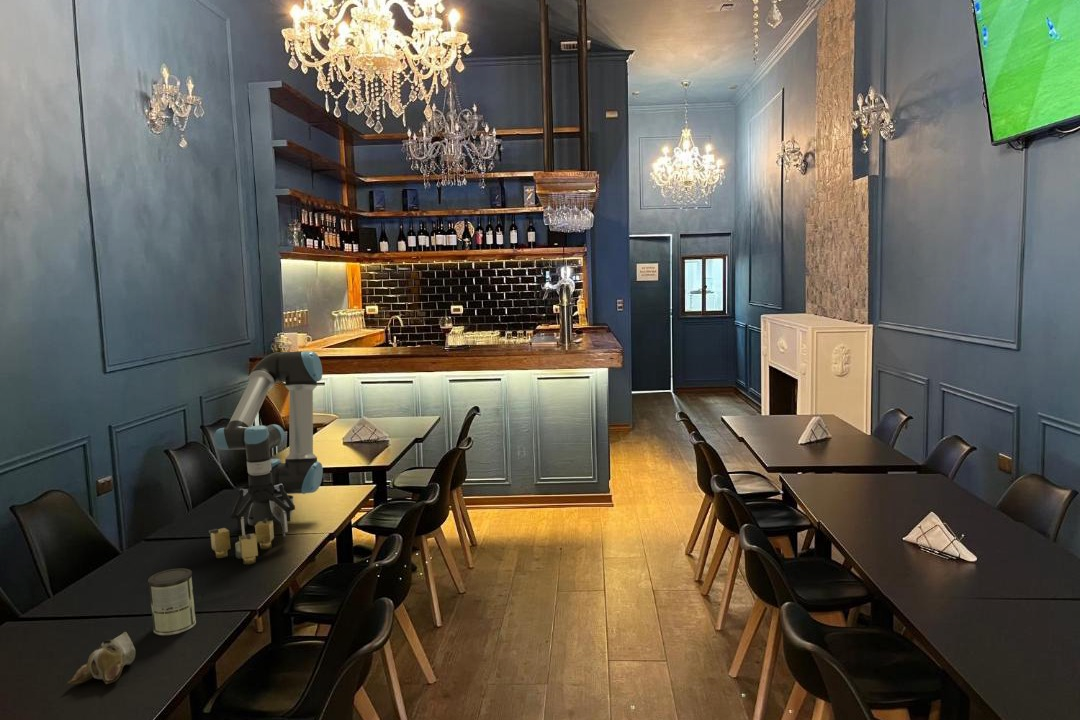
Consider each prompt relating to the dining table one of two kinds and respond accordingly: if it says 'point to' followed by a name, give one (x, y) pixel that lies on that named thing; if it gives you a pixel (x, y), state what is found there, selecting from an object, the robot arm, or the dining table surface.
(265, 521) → the knob
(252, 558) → the knob
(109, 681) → the ceramic sculpture
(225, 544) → the knob
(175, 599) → the coffee can
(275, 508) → the grey funnel
